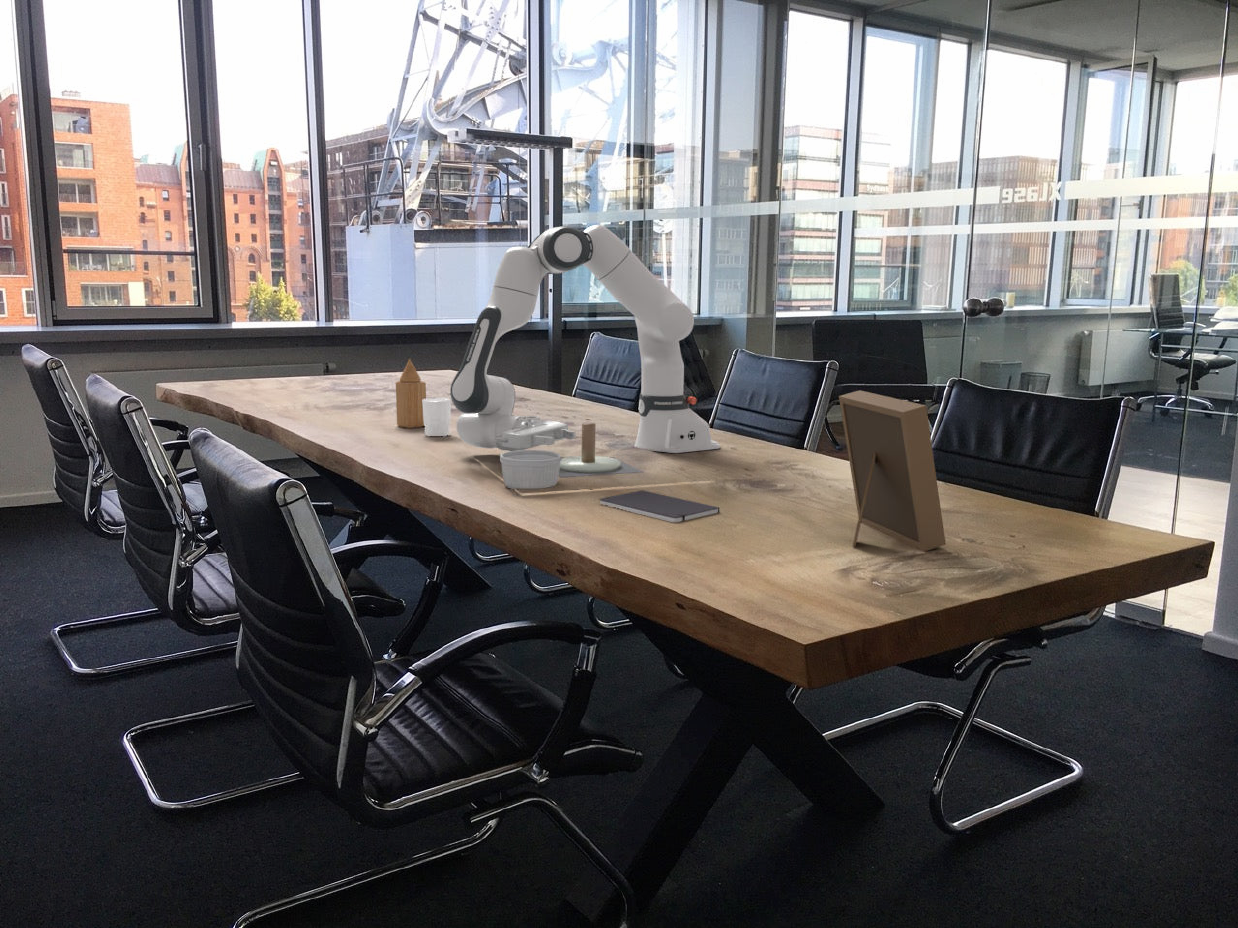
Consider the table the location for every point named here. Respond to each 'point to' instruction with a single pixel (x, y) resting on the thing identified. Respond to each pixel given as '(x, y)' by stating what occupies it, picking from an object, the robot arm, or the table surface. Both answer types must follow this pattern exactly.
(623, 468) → the mat
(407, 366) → the decorative item
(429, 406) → the white cup
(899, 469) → the photo frame
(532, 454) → the ramekin
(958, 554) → the table surface
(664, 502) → the notebook
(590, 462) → the lid
